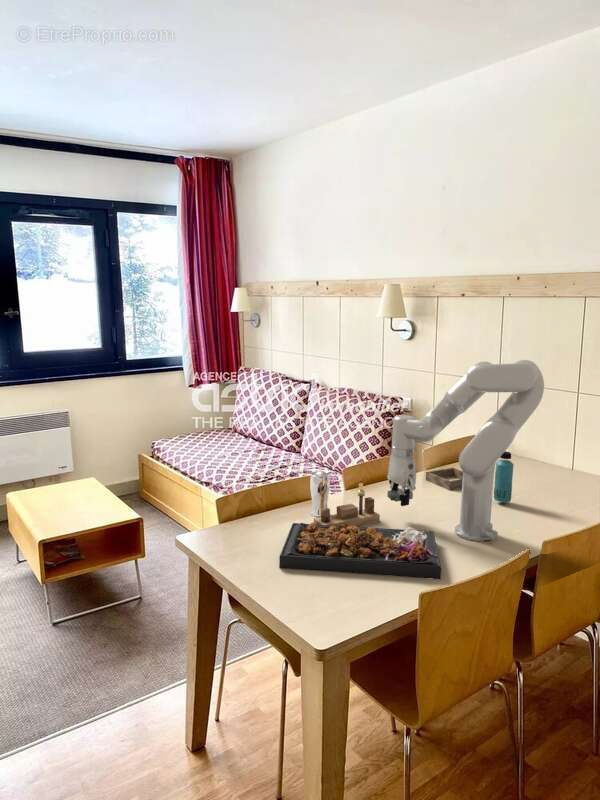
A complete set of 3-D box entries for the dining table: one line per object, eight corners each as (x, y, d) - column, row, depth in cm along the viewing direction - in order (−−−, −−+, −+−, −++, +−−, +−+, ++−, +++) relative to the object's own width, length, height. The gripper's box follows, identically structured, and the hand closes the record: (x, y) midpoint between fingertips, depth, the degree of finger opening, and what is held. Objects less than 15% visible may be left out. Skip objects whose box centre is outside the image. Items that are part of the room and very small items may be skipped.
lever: (357, 496, 199) (357, 492, 198) (357, 487, 208) (357, 483, 208) (364, 496, 199) (364, 492, 198) (364, 487, 208) (364, 483, 208)
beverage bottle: (508, 500, 222) (512, 450, 219) (513, 506, 216) (517, 454, 212) (491, 500, 223) (494, 449, 220) (495, 506, 216) (498, 454, 213)
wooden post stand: (379, 521, 201) (380, 496, 199) (323, 532, 191) (324, 506, 189) (368, 514, 207) (368, 490, 205) (313, 525, 197) (314, 500, 196)
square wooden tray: (477, 485, 241) (478, 476, 240) (449, 490, 234) (450, 481, 233) (452, 475, 254) (453, 467, 253) (425, 479, 247) (425, 471, 247)
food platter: (433, 544, 184) (434, 513, 182) (440, 581, 160) (442, 546, 158) (292, 535, 190) (292, 505, 188) (279, 570, 166) (279, 536, 164)
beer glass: (327, 518, 204) (328, 477, 201) (308, 516, 205) (308, 475, 202) (330, 511, 210) (331, 471, 208) (311, 509, 212) (312, 470, 209)
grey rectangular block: (412, 498, 200) (413, 491, 200) (396, 501, 197) (396, 494, 196) (403, 494, 204) (404, 487, 204) (387, 496, 201) (387, 489, 201)
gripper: (427, 457, 192) (424, 509, 195) (396, 444, 207) (393, 493, 210) (409, 459, 188) (406, 512, 192) (379, 446, 203) (376, 496, 207)
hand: (399, 502), depth 201 cm, fingers closed on grey rectangular block, 5 cm apart
